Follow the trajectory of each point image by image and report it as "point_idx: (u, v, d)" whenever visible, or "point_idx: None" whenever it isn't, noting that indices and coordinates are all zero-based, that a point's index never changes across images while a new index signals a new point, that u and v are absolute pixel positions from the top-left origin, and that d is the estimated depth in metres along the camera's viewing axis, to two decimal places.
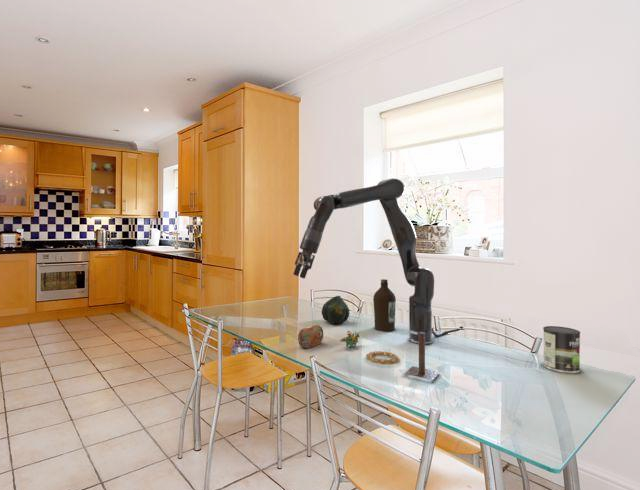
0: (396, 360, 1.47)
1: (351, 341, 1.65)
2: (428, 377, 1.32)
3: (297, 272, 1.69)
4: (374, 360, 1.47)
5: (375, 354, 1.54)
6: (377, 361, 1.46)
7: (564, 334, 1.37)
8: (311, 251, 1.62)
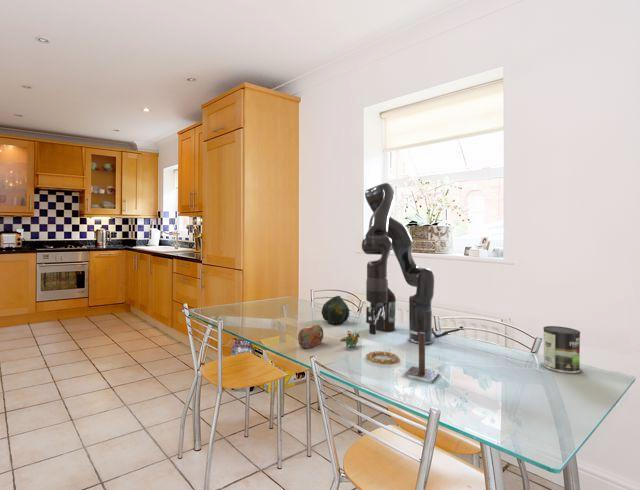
0: (396, 360, 1.47)
1: (351, 341, 1.65)
2: (428, 377, 1.32)
3: None
4: (374, 360, 1.47)
5: (375, 354, 1.54)
6: (377, 361, 1.46)
7: (564, 334, 1.37)
8: None
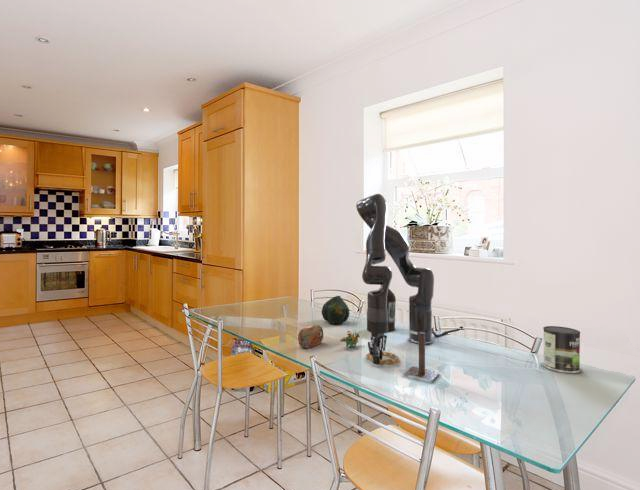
0: (396, 360, 1.47)
1: (351, 341, 1.65)
2: (428, 377, 1.32)
3: None
4: None
5: None
6: None
7: (564, 334, 1.37)
8: None
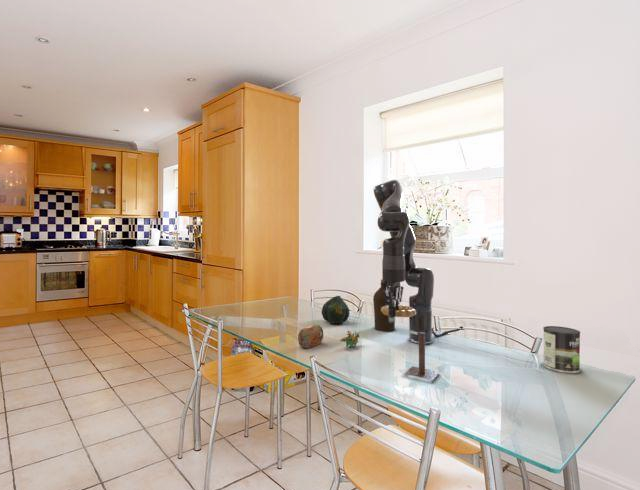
0: (413, 311, 1.39)
1: (351, 341, 1.65)
2: (428, 377, 1.32)
3: None
4: None
5: None
6: None
7: (564, 334, 1.37)
8: None
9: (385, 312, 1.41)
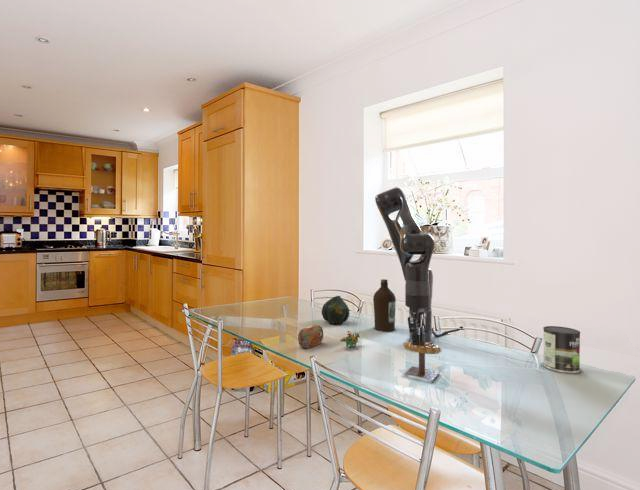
0: (438, 348, 1.32)
1: (351, 341, 1.65)
2: (428, 377, 1.32)
3: None
4: (414, 346, 1.32)
5: None
6: (417, 347, 1.31)
7: (564, 334, 1.37)
8: None
9: (408, 347, 1.34)
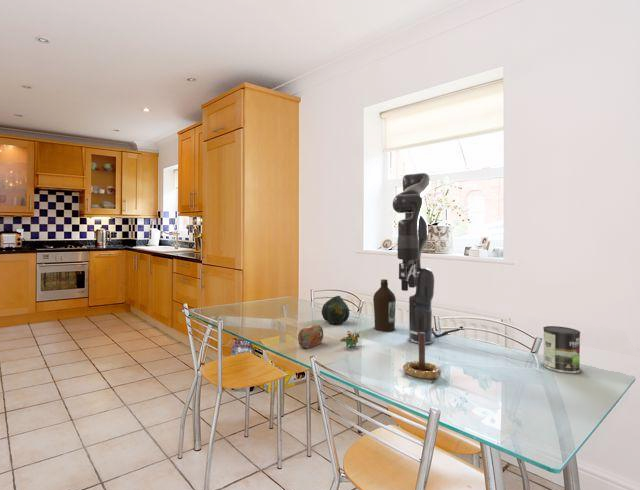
0: (438, 372, 1.31)
1: (351, 341, 1.65)
2: None
3: None
4: (414, 372, 1.32)
5: (413, 365, 1.39)
6: (417, 373, 1.31)
7: (564, 334, 1.37)
8: None
9: (408, 372, 1.33)
